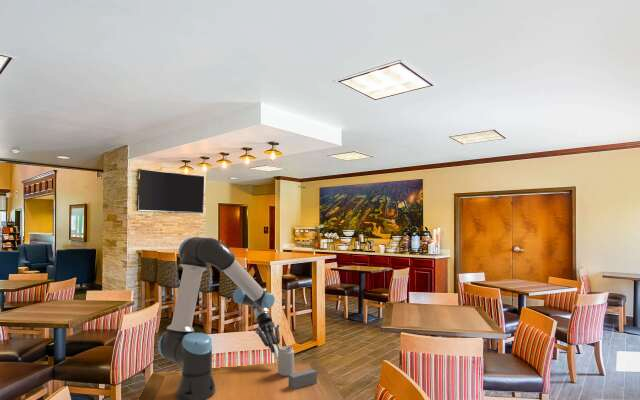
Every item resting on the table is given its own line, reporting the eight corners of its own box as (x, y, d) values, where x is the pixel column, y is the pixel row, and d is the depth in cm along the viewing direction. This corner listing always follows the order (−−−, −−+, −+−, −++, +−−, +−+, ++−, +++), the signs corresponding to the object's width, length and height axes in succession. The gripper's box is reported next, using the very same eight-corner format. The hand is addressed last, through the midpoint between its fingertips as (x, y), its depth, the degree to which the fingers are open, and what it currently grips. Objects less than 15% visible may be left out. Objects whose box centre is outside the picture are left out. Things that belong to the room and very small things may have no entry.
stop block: (293, 389, 168) (293, 377, 168) (288, 386, 171) (288, 374, 171) (316, 383, 174) (316, 371, 175) (311, 380, 178) (311, 368, 178)
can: (293, 377, 181) (293, 350, 182) (276, 376, 181) (277, 350, 182) (294, 370, 189) (294, 345, 189) (279, 370, 189) (279, 345, 190)
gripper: (271, 318, 212) (287, 359, 198) (249, 321, 205) (263, 364, 190) (276, 310, 208) (292, 351, 194) (253, 313, 201) (268, 356, 186)
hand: (277, 357), depth 192 cm, fingers closed
